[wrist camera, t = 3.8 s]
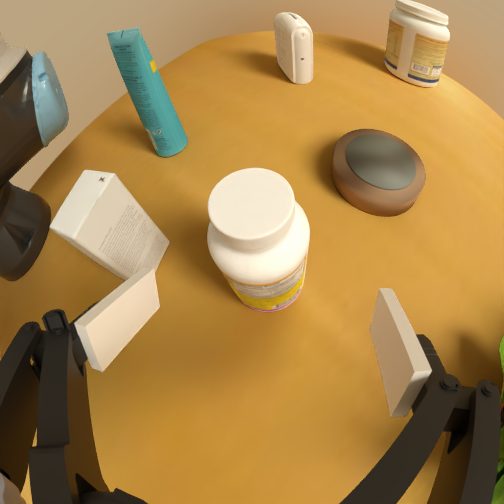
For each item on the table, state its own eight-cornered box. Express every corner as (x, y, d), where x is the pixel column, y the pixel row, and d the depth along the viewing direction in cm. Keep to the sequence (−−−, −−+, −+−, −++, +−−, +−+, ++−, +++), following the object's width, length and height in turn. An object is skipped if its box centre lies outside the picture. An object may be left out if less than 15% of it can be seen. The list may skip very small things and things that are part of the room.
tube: (201, 140, 36) (157, 17, 18) (179, 163, 34) (121, 36, 17) (165, 130, 38) (118, 26, 21) (144, 151, 36) (87, 45, 19)
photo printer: (316, 83, 39) (316, 20, 28) (292, 86, 39) (288, 22, 28) (296, 60, 44) (292, 7, 33) (275, 63, 44) (269, 9, 33)
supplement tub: (443, 81, 39) (458, 19, 24) (427, 96, 36) (446, 21, 21) (396, 57, 44) (404, -4, 28) (373, 68, 41) (380, -5, 26)
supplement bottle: (242, 242, 28) (211, 150, 16) (308, 253, 26) (319, 160, 15) (225, 306, 25) (173, 245, 14) (296, 320, 24) (304, 267, 12)
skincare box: (142, 233, 30) (85, 166, 19) (171, 242, 29) (116, 171, 18) (118, 279, 28) (47, 227, 17) (147, 292, 27) (74, 239, 16)
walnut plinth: (313, 161, 31) (314, 142, 28) (378, 137, 32) (383, 119, 29) (369, 232, 27) (377, 215, 24) (433, 195, 27) (443, 179, 24)
